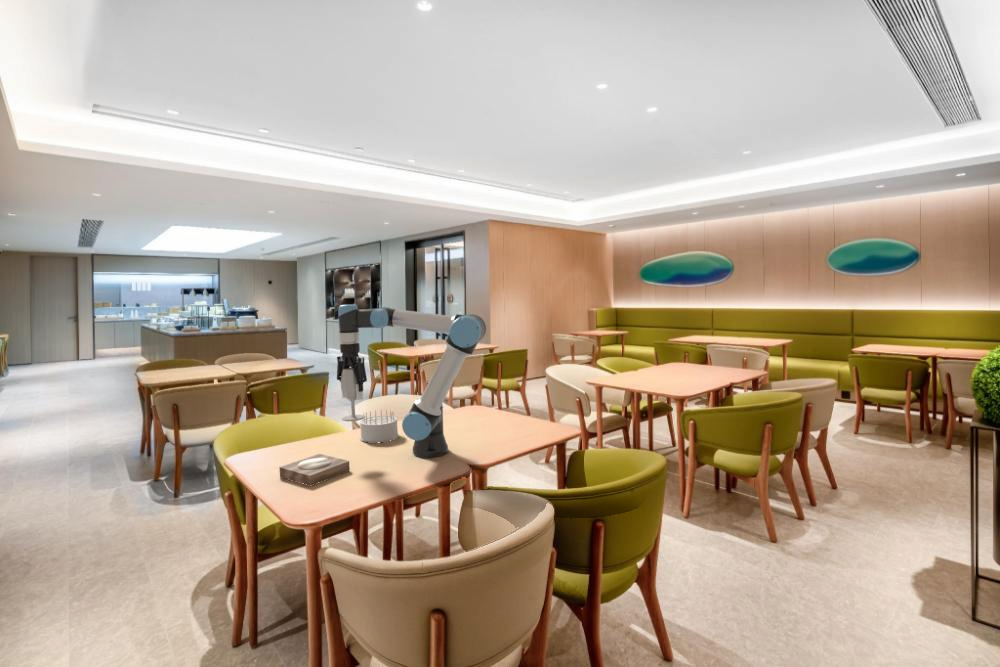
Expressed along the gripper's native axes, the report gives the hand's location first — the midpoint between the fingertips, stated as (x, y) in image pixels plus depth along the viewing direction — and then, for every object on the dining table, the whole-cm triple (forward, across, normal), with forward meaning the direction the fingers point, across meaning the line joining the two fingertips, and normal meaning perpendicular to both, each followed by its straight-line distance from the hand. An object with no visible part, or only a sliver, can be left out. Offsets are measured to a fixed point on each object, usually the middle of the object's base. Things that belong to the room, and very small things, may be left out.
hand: (352, 398), depth 206 cm
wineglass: (+9, 0, 0) cm, 9 cm away
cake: (+27, +16, -29) cm, 43 cm away
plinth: (+26, +2, +18) cm, 32 cm away
